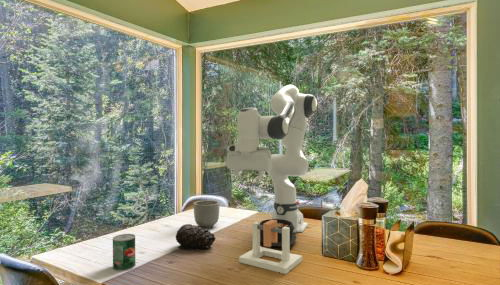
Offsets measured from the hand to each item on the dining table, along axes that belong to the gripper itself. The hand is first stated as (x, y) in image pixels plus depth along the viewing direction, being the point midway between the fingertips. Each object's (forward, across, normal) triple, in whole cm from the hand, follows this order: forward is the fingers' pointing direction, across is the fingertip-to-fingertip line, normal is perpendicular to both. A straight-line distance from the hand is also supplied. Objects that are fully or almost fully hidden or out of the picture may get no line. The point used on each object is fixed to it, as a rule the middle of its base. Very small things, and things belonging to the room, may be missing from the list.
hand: (248, 180), depth 128 cm
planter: (+30, +40, -21) cm, 55 cm away
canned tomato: (+30, +34, +35) cm, 57 cm away
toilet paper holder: (+30, -11, +3) cm, 32 cm away
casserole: (+31, -2, -20) cm, 37 cm away
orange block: (+23, -11, +3) cm, 26 cm away
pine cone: (+30, +24, +5) cm, 39 cm away
